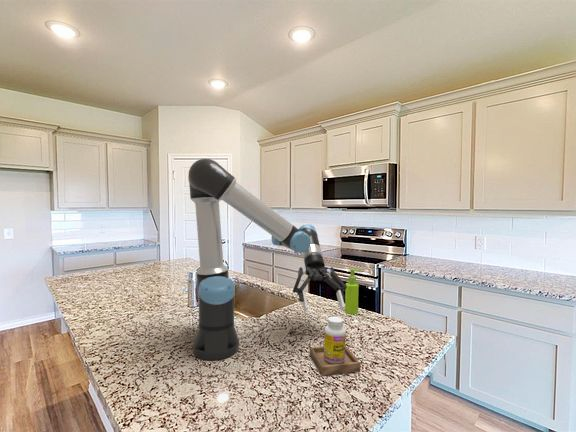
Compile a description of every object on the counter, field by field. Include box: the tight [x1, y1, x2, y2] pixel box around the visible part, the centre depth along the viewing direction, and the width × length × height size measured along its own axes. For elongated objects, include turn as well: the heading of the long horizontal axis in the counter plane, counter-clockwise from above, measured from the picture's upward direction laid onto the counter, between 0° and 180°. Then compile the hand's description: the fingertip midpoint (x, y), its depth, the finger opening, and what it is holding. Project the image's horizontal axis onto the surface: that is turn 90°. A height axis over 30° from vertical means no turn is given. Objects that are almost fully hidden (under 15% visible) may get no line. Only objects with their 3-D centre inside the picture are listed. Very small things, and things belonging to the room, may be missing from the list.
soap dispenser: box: [344, 268, 362, 315], centre depth 136 cm, size 6×7×20 cm
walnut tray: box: [309, 345, 361, 377], centre depth 93 cm, size 12×12×2 cm
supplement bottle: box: [323, 316, 347, 364], centre depth 93 cm, size 7×7×13 cm
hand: (324, 309), depth 103 cm, fingers open, 13 cm apart
